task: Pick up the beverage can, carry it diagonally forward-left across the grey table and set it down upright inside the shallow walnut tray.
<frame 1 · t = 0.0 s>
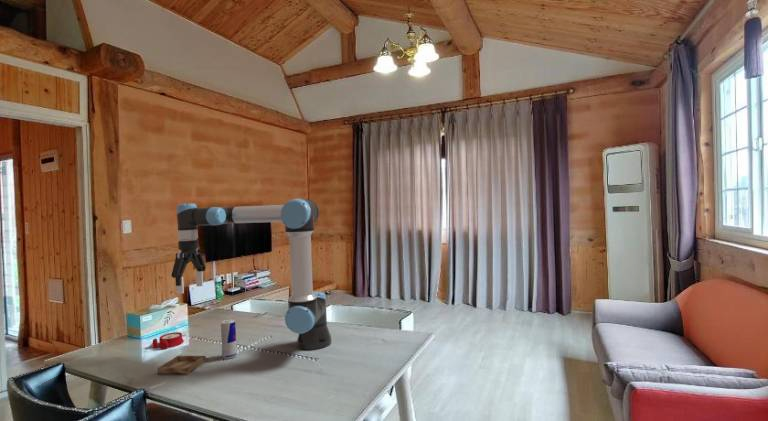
hand: (190, 289, 162), 28 cm above the table, fingers open, 13 cm apart
tray: (182, 367, 149), on the table
beverage can: (229, 357, 159), on the table
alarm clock: (167, 346, 176), on the table
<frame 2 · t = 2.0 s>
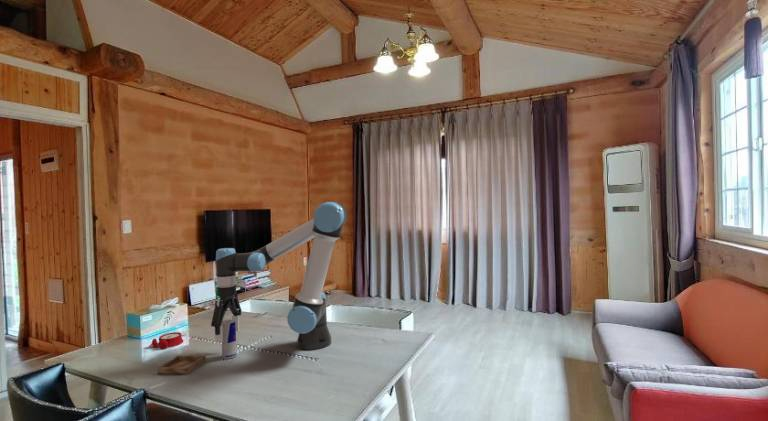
hand: (227, 336, 159), 9 cm above the table, fingers open, 13 cm apart
nothing on the table moved.
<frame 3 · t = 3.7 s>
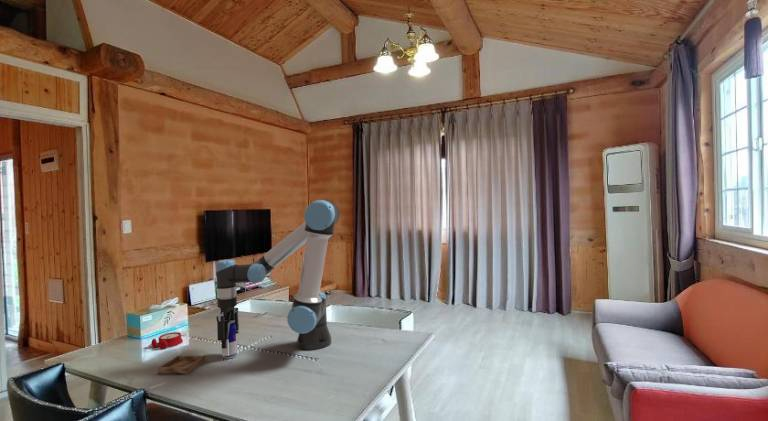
hand: (229, 352, 159), 2 cm above the table, fingers closed on beverage can, 5 cm apart
beverage can: (229, 357, 159), on the table, touching gripper
everything else where it was.
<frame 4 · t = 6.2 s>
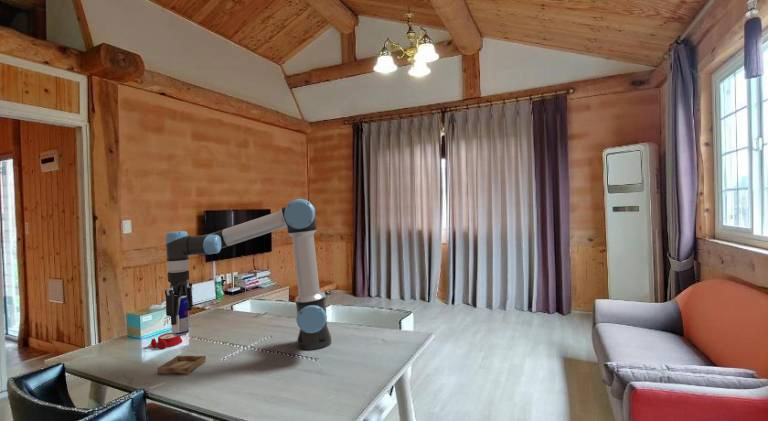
hand: (180, 329, 149), 15 cm above the table, fingers closed on beverage can, 5 cm apart
beverage can: (181, 334, 149), point 13 cm above the table, touching gripper
everything else where it was.
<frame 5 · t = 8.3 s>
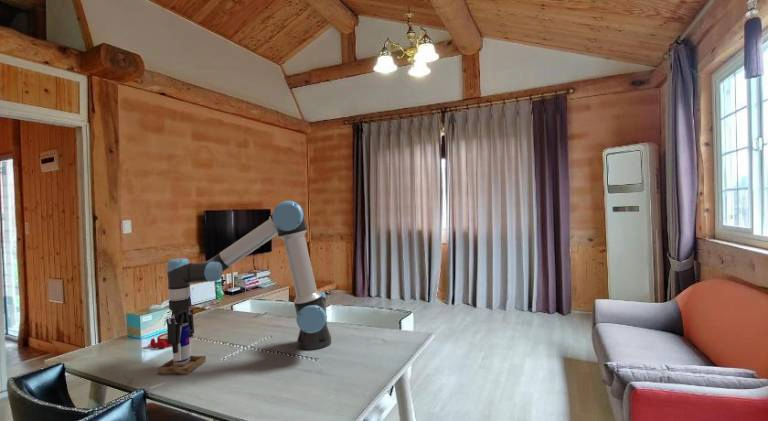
hand: (182, 357, 149), 4 cm above the table, fingers closed on beverage can, 5 cm apart
beverage can: (182, 362, 149), point 2 cm above the table, touching gripper
when the fingers open (4 cm above the table, at t = 8.7 s): beverage can drops 2 cm, resting on tray.
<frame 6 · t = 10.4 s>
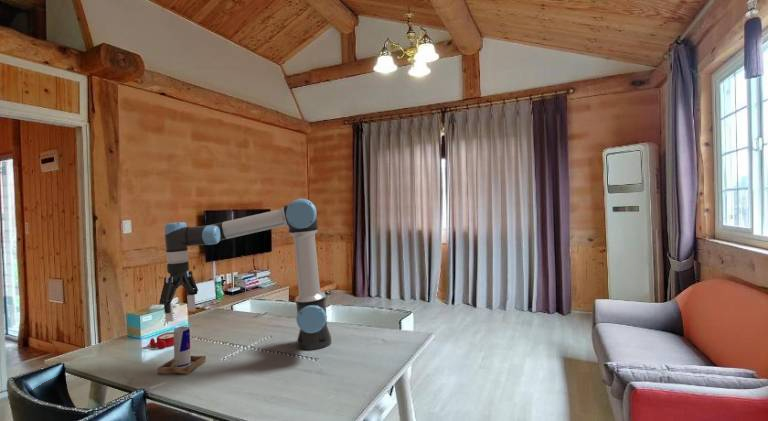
hand: (181, 315, 149), 20 cm above the table, fingers open, 13 cm apart
beverage can: (182, 366, 149), resting on tray
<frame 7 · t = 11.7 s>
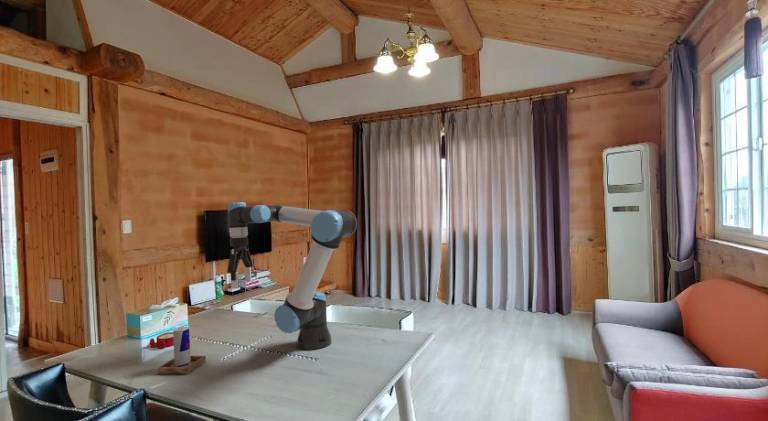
hand: (241, 284, 169), 28 cm above the table, fingers open, 13 cm apart
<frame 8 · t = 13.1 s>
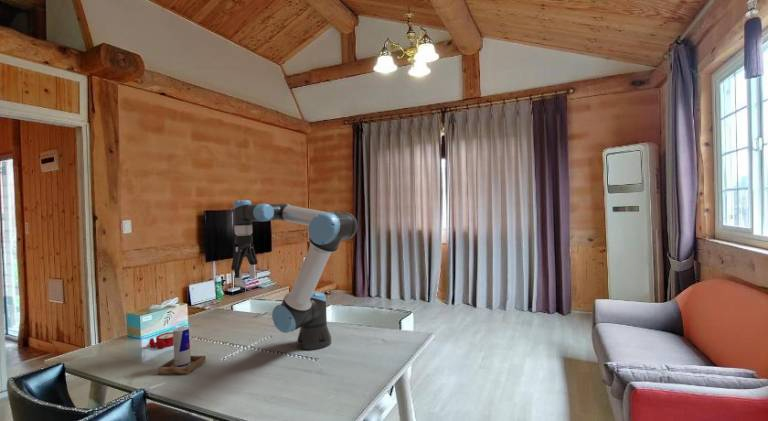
hand: (245, 281, 171), 29 cm above the table, fingers open, 13 cm apart
at the end: beverage can inside the target area on the tray (0.1 cm from its centre), point 0.4 cm above the tray's base; beverage can tilted 0°; the gripper is holding nothing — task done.
